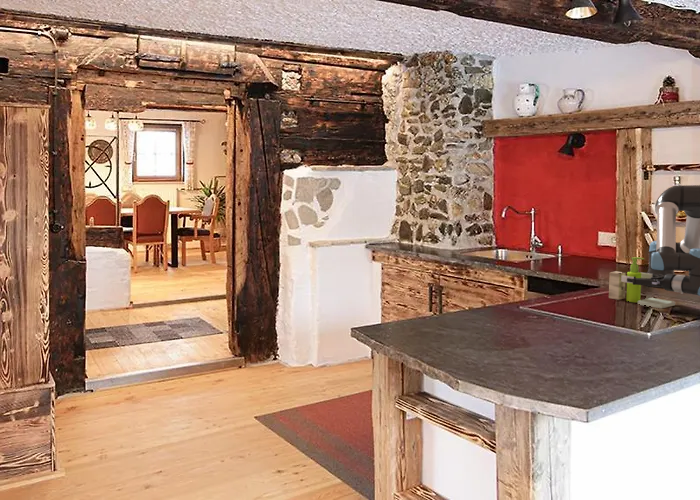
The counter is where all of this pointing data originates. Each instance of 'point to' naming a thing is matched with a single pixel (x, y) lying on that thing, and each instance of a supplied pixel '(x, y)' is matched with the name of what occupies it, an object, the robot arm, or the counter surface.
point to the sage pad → (656, 303)
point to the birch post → (616, 285)
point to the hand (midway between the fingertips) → (630, 276)
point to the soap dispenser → (632, 290)
